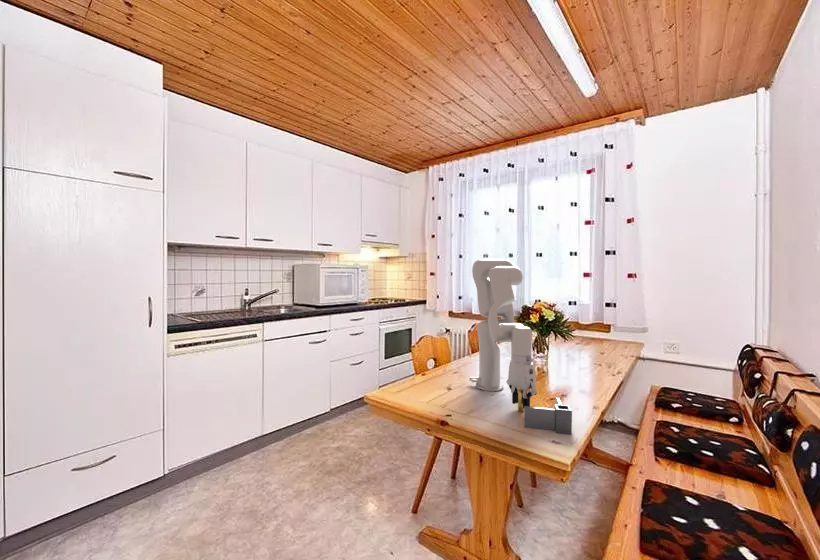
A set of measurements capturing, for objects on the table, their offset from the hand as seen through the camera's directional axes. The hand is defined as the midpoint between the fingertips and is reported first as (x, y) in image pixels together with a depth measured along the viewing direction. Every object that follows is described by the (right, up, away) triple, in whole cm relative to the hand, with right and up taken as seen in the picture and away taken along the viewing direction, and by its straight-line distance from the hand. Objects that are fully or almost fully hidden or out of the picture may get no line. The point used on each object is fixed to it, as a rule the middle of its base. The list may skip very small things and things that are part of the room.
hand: (520, 404), depth 137 cm
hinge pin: (0, -2, 0) cm, 2 cm away
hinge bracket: (+5, -3, -11) cm, 12 cm away
